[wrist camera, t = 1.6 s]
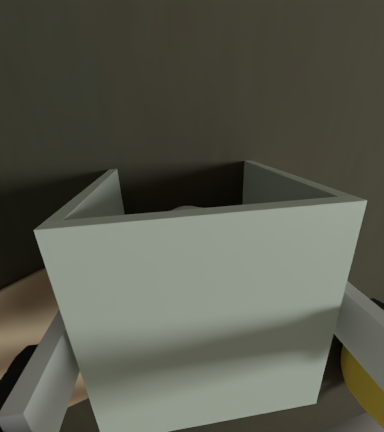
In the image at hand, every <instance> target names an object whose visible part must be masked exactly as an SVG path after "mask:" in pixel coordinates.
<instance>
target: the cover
mask: <svg viewBox="0 0 384 432" xmlns="http://www.w3.org/2000/svg"><path fill="white" fill-rule="evenodd" d="M366 203H367V200H364V199H361V198H359V197H356V196H353V195H350V194H347V193H344V192H341V191H338V190H335V189H332V188H330V187H327V186H324V185H321V184H318V183H315V182H312V181H309V180H306V179H303V178H301V177H298V176H295V175H292V174H289V173H286V172H283V171H280V170H277V169H274V168H272V167H269V166H266V165H263V164H260V163H257V162H254V161H251V160H250V161H244V178H243V203H242V205H234V206H222V207H211V208H199V209H187V210H175V211H164V212H152V213H140V214H129V215H125V214H124V208H123V202H122V196H121V190H120V184H119V178H118V172H117V169H110V170H108V171H107V172H106V173H104V174H103V175H102V176H101V177H99V178H98V179H97V180H96V181H94V182H93V183H92V184H91V185H89V186H88V187H87V188H86V189H84V190H83V191H82V192H81V193H79V194H78V195H77V196H76V197H74V198H73V199H72V200H71V201H69V202H68V203H67V204H66V205H64V206H63V207H62V208H61V209H59V210H58V211H57V212H56V213H54V214H53V215H52V216H51V217H49V218H48V219H47V220H46V221H44V222H43V223H42V224H41V225H39V226H38V227H37V228H35V229H34V230H33V231H34V234H35V237H36V240H37V243H38V246H39V249H40V252H41V255H42V258H43V261H44V264H45V267H46V270H47V273H48V276H49V279H50V282H51V285H52V288H53V291H54V294H55V297H56V300H57V303H58V306H59V309H60V312H61V315H62V318H63V321H64V324H65V327H66V330H67V333H68V336H69V339H70V342H71V345H72V348H73V351H74V354H75V357H76V360H77V363H78V366H79V369H80V372H81V376H82V379H83V382H84V385H85V388H86V391H87V394H88V397H89V400H90V403H91V406H92V409H93V412H94V415H95V418H96V421H97V424H98V427H99V430H100V432H168V431H173V430H179V429H184V428H189V427H195V426H200V425H205V424H210V423H216V422H221V421H226V420H231V419H237V418H242V417H247V416H252V415H258V414H263V413H268V412H274V411H279V410H284V409H289V408H295V407H300V406H305V405H310V404H316V402H317V398H318V394H319V390H320V386H321V382H322V378H323V374H324V370H325V366H326V362H327V358H328V354H329V350H330V346H331V342H332V338H333V334H334V330H335V326H336V322H337V318H338V314H339V311H340V307H341V303H342V299H343V295H344V291H345V287H346V283H347V279H348V275H349V271H350V267H351V263H352V259H353V255H354V251H355V247H356V243H357V239H358V235H359V231H360V227H361V223H362V219H363V215H364V211H365V207H366Z"/></svg>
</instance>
